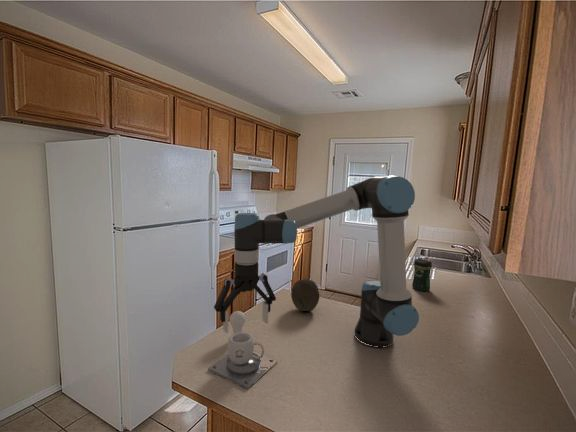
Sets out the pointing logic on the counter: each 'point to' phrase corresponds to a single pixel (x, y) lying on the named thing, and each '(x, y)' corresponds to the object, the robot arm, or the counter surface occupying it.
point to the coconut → (305, 295)
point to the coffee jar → (422, 275)
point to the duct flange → (239, 370)
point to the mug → (242, 348)
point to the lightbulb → (237, 321)
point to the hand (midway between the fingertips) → (246, 326)
